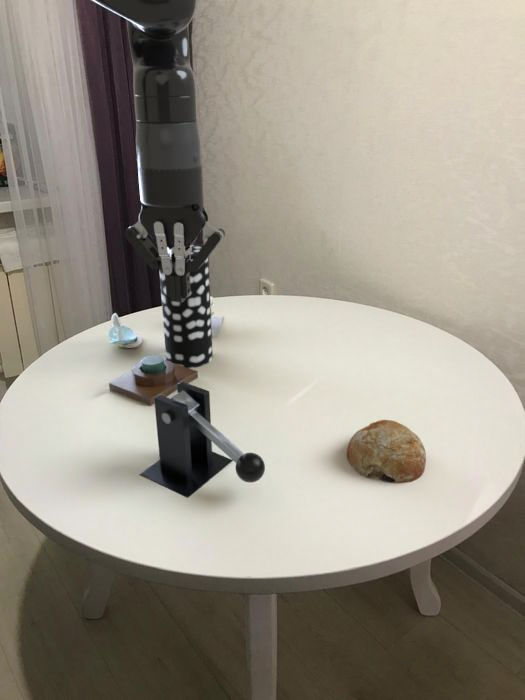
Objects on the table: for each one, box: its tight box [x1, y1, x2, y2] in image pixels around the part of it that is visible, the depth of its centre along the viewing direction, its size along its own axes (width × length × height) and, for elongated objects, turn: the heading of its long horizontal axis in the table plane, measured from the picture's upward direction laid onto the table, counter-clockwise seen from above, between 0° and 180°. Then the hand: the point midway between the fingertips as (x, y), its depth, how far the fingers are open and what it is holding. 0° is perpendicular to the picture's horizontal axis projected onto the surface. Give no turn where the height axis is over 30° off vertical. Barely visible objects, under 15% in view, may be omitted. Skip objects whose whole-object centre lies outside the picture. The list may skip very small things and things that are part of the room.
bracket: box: [139, 382, 234, 499], centre depth 73 cm, size 8×9×12 cm
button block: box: [108, 358, 199, 407], centre depth 95 cm, size 11×9×4 cm
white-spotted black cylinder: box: [158, 242, 214, 369], centre depth 102 cm, size 8×8×20 cm
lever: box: [170, 390, 266, 484], centre depth 70 cm, size 14×3×3 cm, turn 56°
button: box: [140, 354, 165, 374], centre depth 94 cm, size 4×4×2 cm
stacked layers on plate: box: [210, 295, 224, 338], centre depth 118 cm, size 10×9×6 cm
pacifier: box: [108, 312, 143, 349], centre depth 110 cm, size 7×6×6 cm
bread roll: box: [345, 419, 427, 484], centre depth 76 cm, size 10×10×8 cm
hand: (178, 300), depth 77 cm, fingers closed
